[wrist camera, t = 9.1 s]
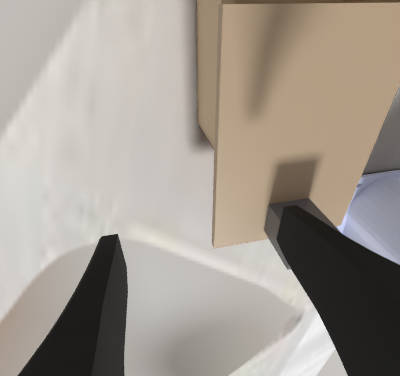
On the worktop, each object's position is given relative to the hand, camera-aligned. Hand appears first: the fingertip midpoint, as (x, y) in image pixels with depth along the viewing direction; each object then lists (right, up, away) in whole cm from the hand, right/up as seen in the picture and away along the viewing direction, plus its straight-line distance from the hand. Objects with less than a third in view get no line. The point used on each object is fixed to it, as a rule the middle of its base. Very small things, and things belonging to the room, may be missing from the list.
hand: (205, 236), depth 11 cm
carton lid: (+6, +5, +5) cm, 9 cm away
